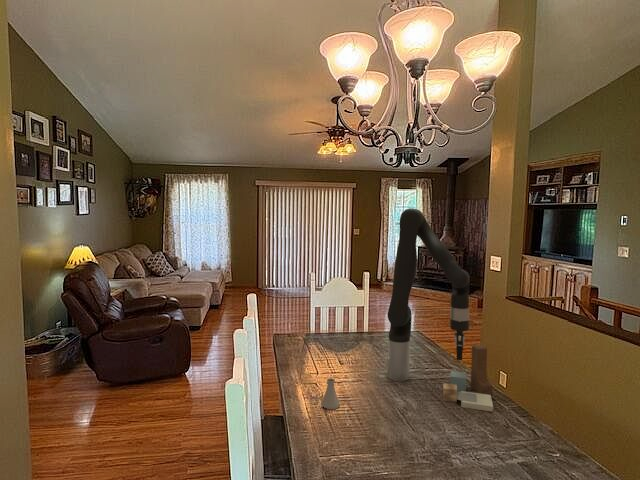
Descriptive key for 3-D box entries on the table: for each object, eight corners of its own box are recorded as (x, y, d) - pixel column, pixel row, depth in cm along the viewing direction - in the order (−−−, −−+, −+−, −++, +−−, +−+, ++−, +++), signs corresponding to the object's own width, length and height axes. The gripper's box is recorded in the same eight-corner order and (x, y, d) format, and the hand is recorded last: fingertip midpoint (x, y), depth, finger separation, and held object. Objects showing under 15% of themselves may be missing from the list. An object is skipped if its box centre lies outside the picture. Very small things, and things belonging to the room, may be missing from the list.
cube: (450, 390, 165) (450, 376, 164) (450, 384, 170) (450, 371, 170) (465, 392, 163) (466, 378, 162) (465, 386, 168) (465, 372, 168)
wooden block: (492, 396, 160) (493, 352, 159) (481, 396, 159) (483, 352, 158) (480, 386, 169) (481, 344, 167) (470, 387, 168) (471, 345, 167)
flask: (342, 403, 153) (342, 377, 152) (336, 411, 146) (337, 385, 146) (324, 400, 155) (324, 375, 155) (318, 408, 149) (318, 382, 148)
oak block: (443, 400, 156) (443, 388, 155) (443, 395, 160) (443, 383, 160) (456, 402, 154) (456, 390, 154) (456, 397, 159) (456, 384, 158)
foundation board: (456, 406, 151) (456, 401, 151) (456, 395, 160) (456, 390, 160) (492, 411, 147) (493, 406, 147) (490, 399, 156) (490, 394, 156)
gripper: (450, 313, 173) (449, 350, 174) (450, 321, 159) (449, 361, 160) (468, 314, 170) (468, 351, 171) (470, 322, 157) (469, 363, 158)
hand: (459, 356), depth 166 cm, fingers open, 8 cm apart
